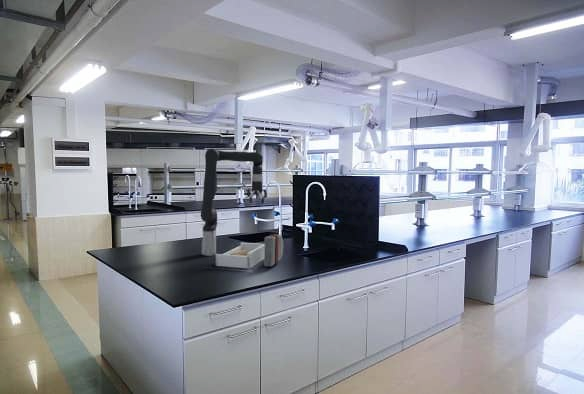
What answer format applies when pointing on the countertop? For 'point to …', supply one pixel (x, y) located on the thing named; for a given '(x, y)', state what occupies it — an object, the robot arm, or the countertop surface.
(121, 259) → the countertop surface
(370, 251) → the countertop surface
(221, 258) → the white open box
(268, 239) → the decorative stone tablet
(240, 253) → the top offcut
